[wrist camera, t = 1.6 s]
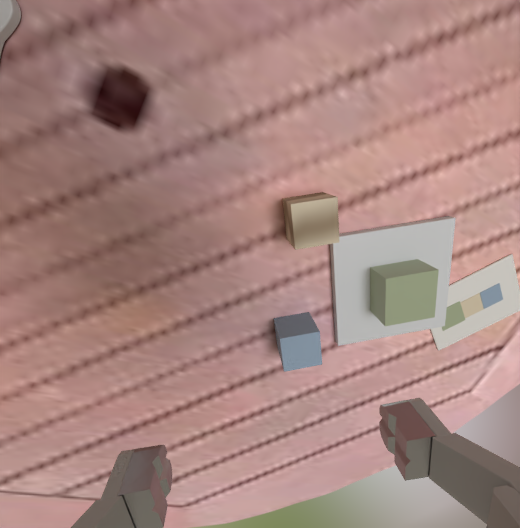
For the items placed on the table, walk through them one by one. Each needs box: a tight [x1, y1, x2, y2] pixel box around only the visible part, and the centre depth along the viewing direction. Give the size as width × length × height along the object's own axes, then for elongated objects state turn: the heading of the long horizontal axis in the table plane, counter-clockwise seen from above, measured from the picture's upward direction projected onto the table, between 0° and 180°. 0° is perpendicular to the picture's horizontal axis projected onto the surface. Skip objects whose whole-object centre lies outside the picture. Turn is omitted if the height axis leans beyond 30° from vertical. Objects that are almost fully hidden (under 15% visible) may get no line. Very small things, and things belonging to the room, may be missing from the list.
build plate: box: [330, 216, 455, 346], centre depth 38 cm, size 16×16×5 cm
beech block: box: [282, 192, 339, 250], centre depth 33 cm, size 5×5×5 cm
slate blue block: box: [274, 312, 322, 371], centre depth 39 cm, size 5×5×5 cm
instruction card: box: [430, 254, 520, 351], centre depth 43 cm, size 10×14×1 cm
